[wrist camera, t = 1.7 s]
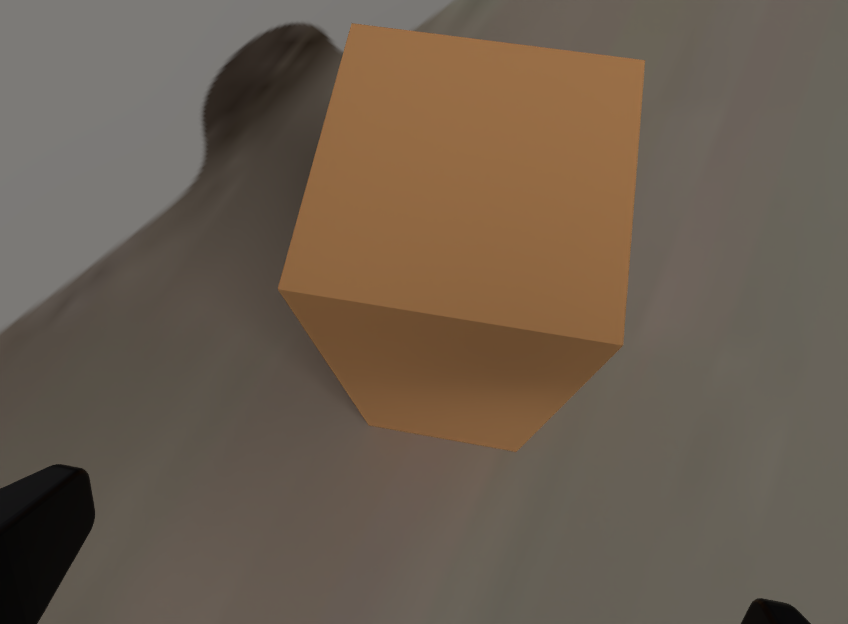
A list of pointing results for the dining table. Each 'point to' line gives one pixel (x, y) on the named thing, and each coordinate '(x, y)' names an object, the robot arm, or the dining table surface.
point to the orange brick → (467, 230)
